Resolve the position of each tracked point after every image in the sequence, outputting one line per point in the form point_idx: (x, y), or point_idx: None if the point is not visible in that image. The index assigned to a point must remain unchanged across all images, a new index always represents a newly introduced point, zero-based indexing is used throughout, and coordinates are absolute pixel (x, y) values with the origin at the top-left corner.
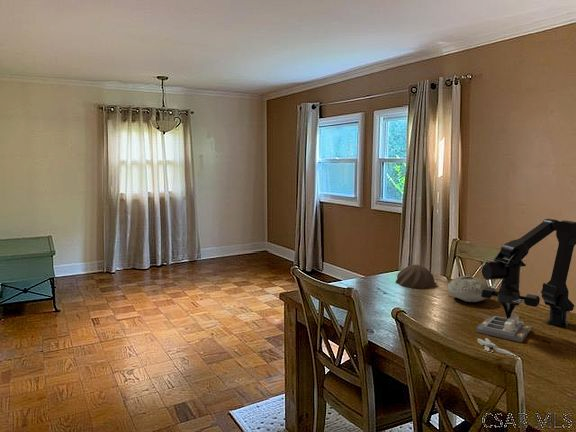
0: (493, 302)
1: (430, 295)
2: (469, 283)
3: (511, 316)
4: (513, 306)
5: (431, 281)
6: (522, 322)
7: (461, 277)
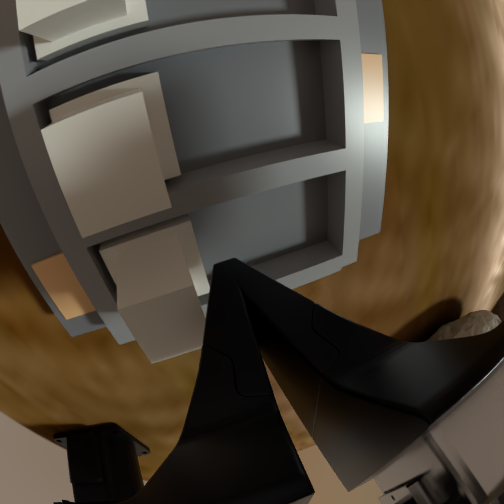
0: None
1: (501, 277)
2: None
3: (187, 287)
4: (194, 448)
5: None
6: (112, 325)
7: None
